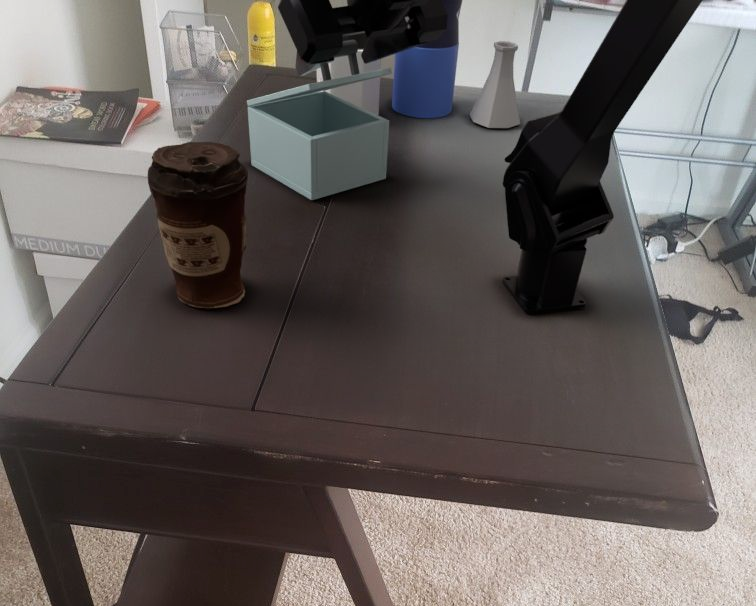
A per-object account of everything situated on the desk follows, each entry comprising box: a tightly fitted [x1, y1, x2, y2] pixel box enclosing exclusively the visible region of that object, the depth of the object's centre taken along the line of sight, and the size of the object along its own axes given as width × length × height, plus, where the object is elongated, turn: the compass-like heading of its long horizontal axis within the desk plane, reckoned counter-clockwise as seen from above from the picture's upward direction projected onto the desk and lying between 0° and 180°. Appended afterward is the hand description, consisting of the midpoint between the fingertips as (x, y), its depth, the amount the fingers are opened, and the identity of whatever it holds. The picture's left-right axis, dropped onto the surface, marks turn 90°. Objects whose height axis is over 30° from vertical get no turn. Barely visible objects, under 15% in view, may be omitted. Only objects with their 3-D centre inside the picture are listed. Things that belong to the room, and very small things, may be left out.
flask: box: [469, 40, 521, 129], centre depth 106 cm, size 7×7×10 cm
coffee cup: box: [147, 141, 249, 309], centre depth 66 cm, size 9×8×13 cm
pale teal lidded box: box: [247, 91, 390, 201], centre depth 90 cm, size 13×12×7 cm
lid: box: [246, 40, 393, 107], centre depth 85 cm, size 13×12×4 cm
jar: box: [316, 33, 382, 116], centre depth 104 cm, size 9×8×12 cm
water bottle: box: [391, 0, 463, 119], centre depth 103 cm, size 9×9×25 cm
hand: (332, 65), depth 83 cm, fingers open, 9 cm apart
